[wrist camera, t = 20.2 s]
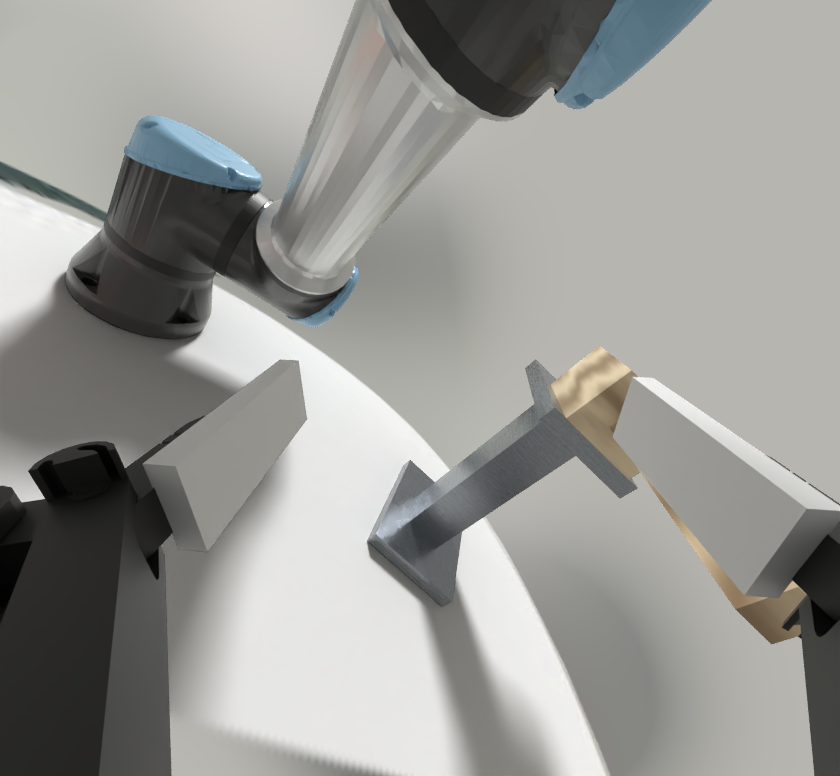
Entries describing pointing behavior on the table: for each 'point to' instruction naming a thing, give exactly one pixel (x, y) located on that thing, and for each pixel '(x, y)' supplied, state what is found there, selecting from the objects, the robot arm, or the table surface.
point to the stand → (480, 489)
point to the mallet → (596, 420)
